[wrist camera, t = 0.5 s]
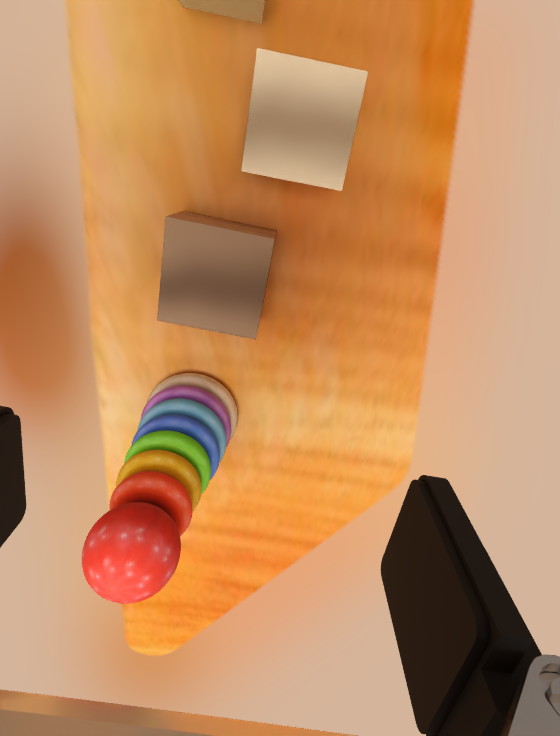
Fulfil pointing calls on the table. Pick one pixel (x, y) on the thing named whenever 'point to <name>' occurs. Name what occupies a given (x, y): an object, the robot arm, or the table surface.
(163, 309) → the walnut base
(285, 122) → the maple block
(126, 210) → the table surface
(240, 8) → the sage block
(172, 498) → the stacking toy
